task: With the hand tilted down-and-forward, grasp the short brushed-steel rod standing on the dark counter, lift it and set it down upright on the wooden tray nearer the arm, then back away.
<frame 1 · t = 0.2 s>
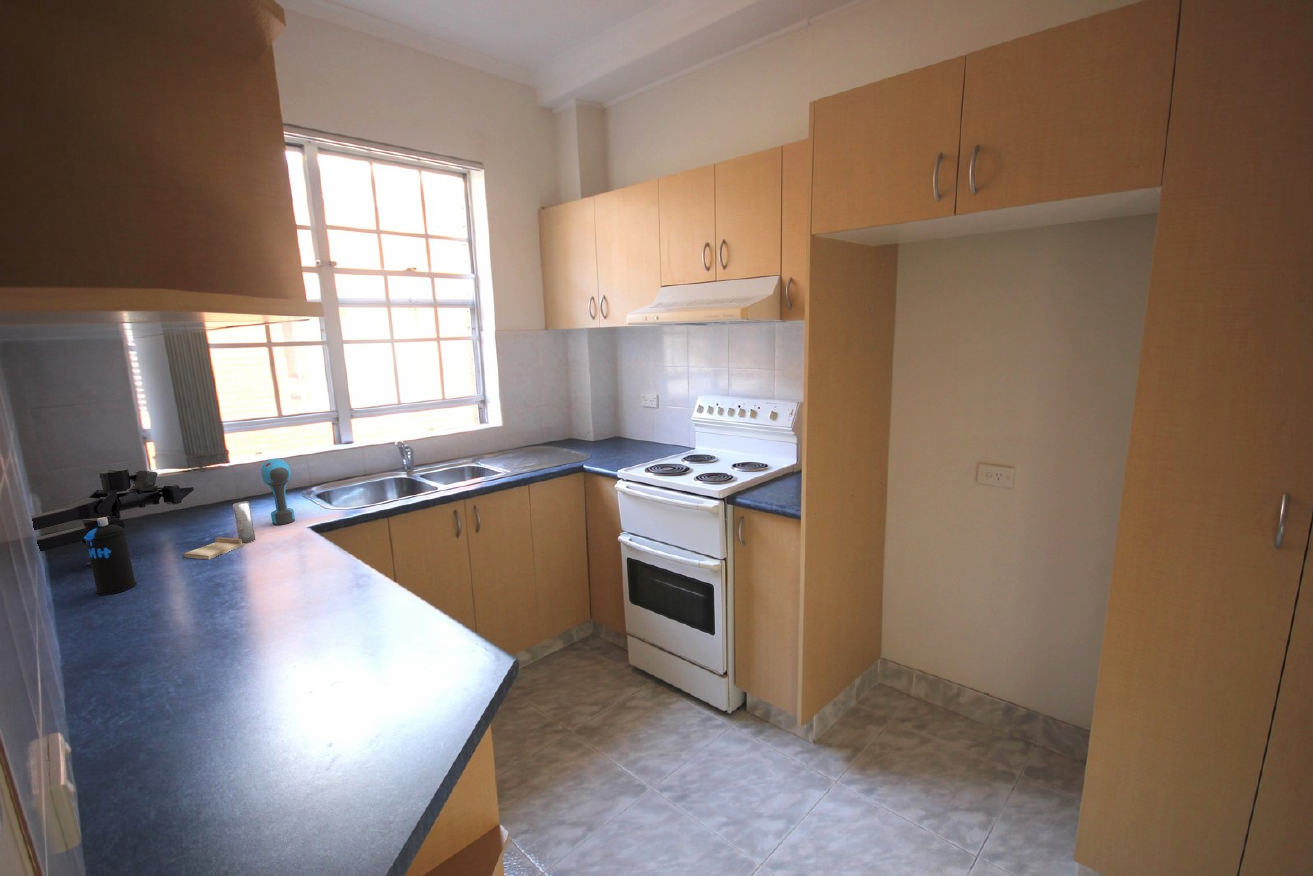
hand: (183, 488, 199), 16 cm above the counter, tool horizontal, fingers open, 9 cm apart
rod: (247, 541, 193), on the counter
wooden tray: (212, 552, 183), on the counter
aerosol can: (117, 589, 158), on the counter
power drill: (281, 520, 216), on the counter
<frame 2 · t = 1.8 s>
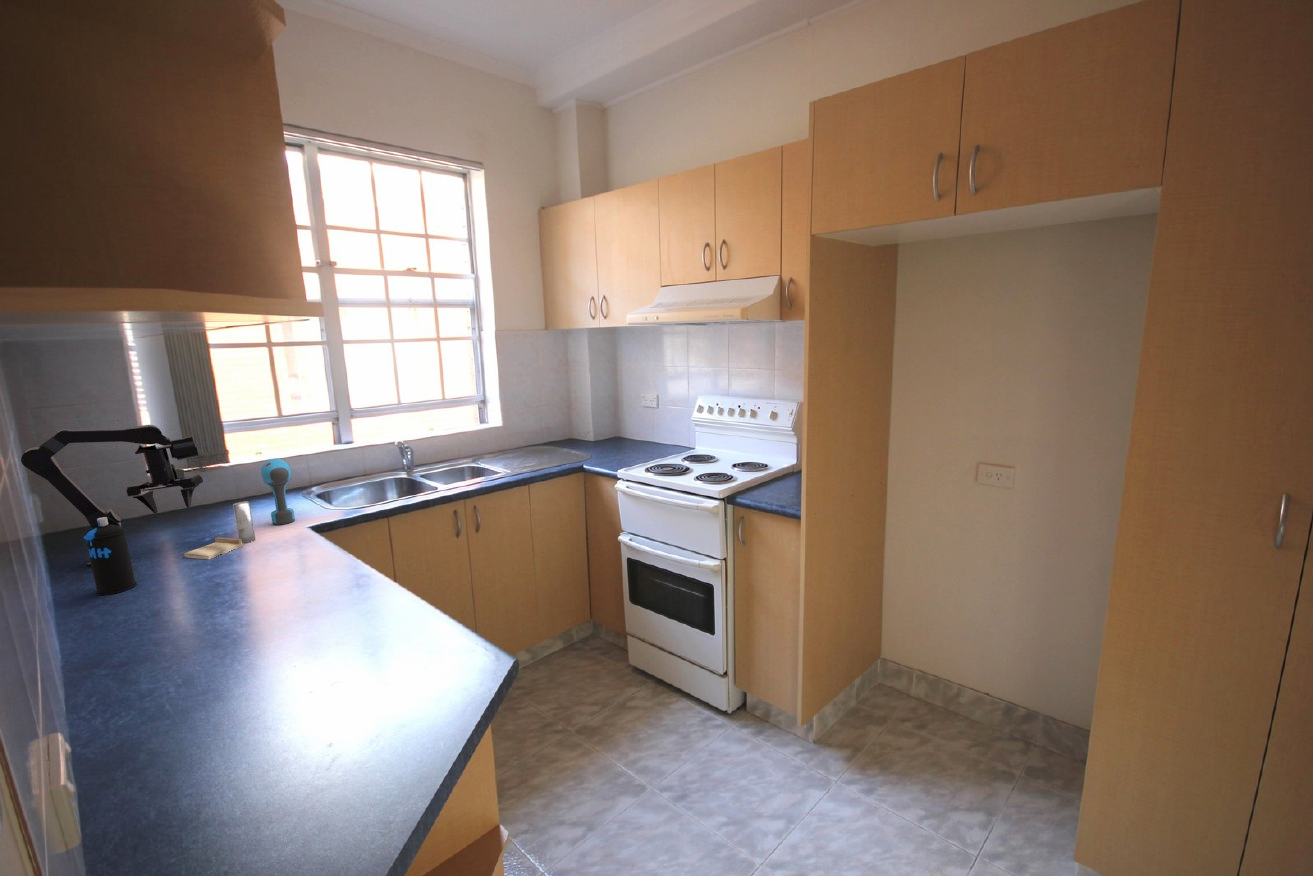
hand: (172, 510, 188), 12 cm above the counter, tool pointing down, fingers open, 9 cm apart
nothing on the counter moved.
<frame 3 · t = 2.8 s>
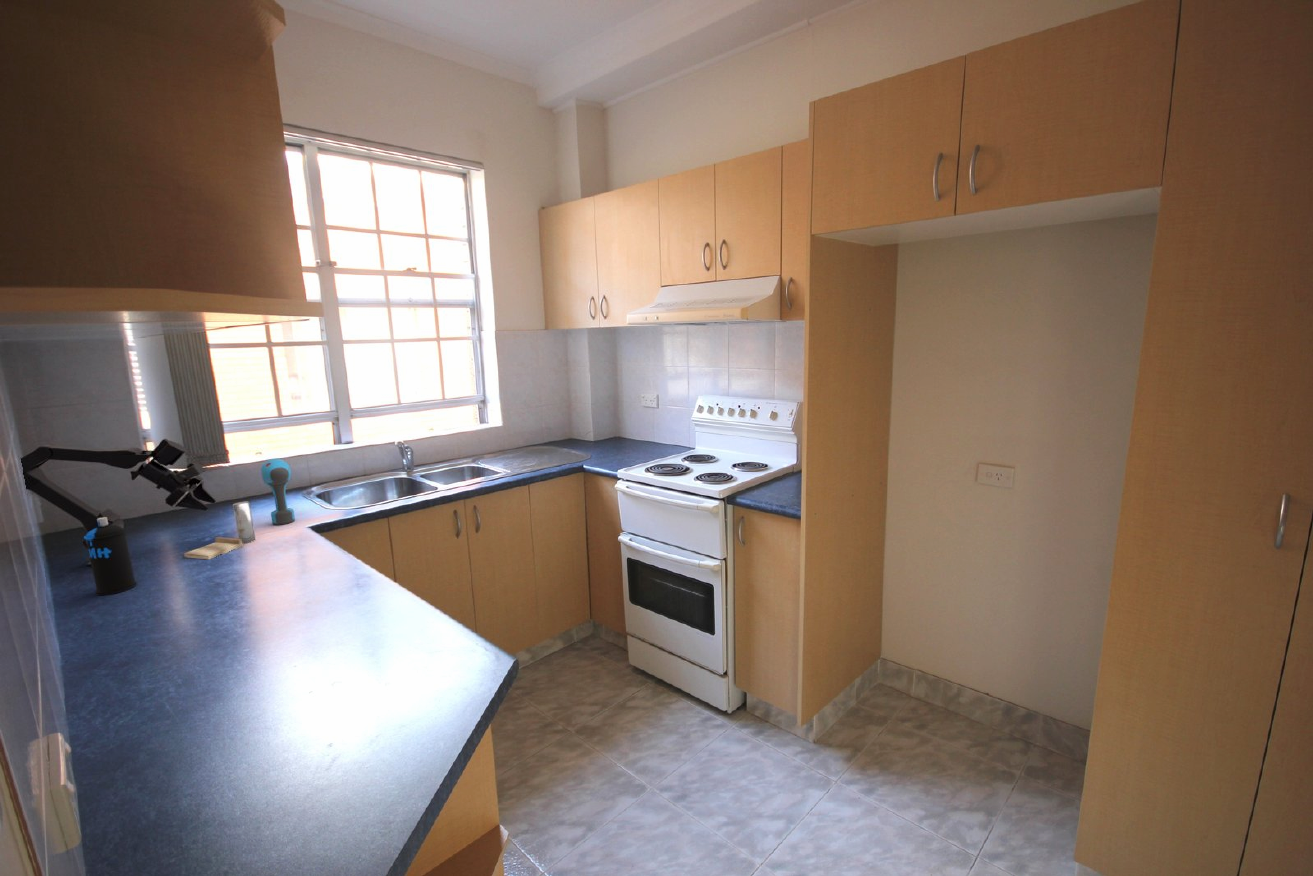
hand: (211, 505, 187), 13 cm above the counter, tool tilted 45°, fingers open, 9 cm apart
nothing on the counter moved.
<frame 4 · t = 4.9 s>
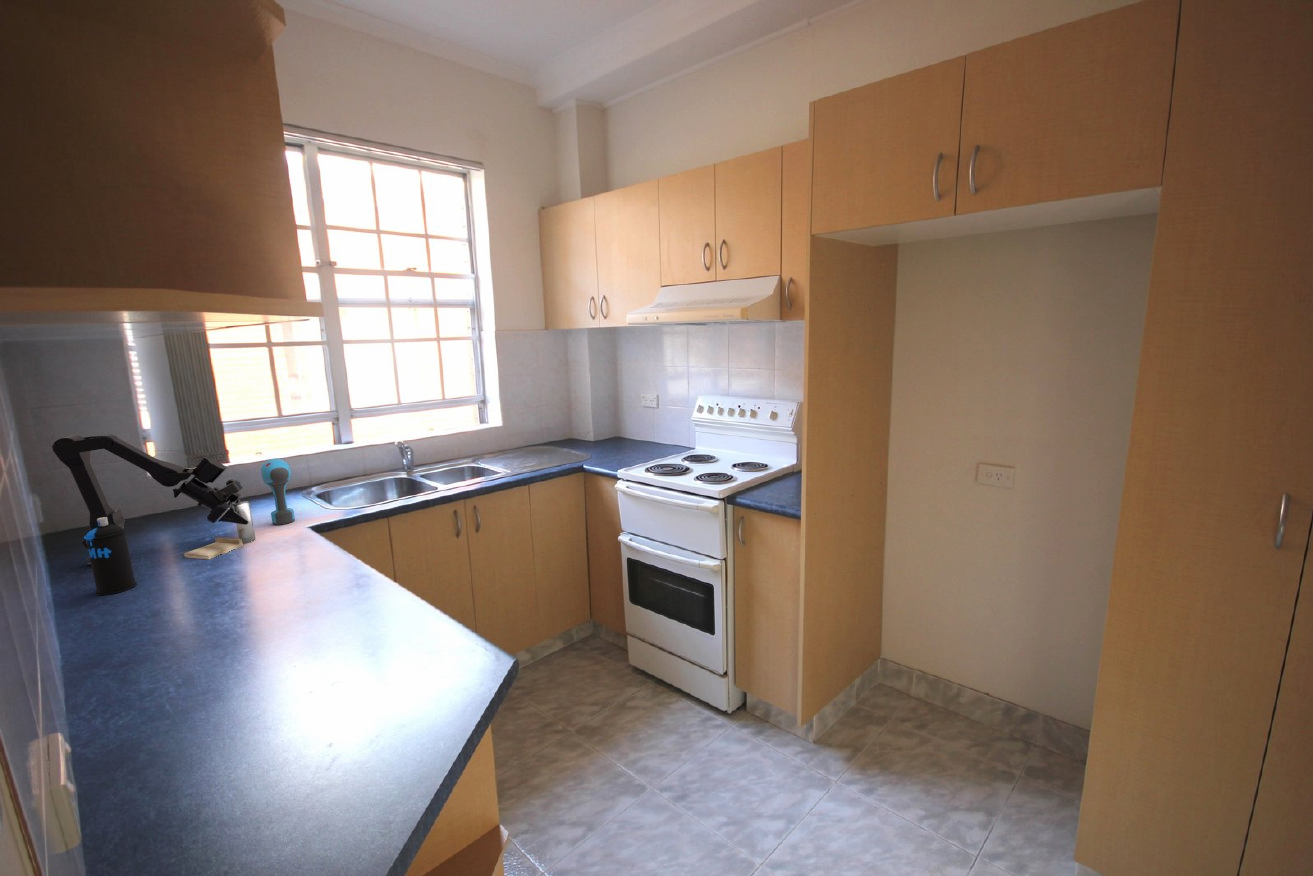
hand: (249, 521, 192), 7 cm above the counter, tool tilted 45°, fingers closed on rod, 4 cm apart
rod: (247, 541, 193), on the counter, touching gripper
everything else where it was.
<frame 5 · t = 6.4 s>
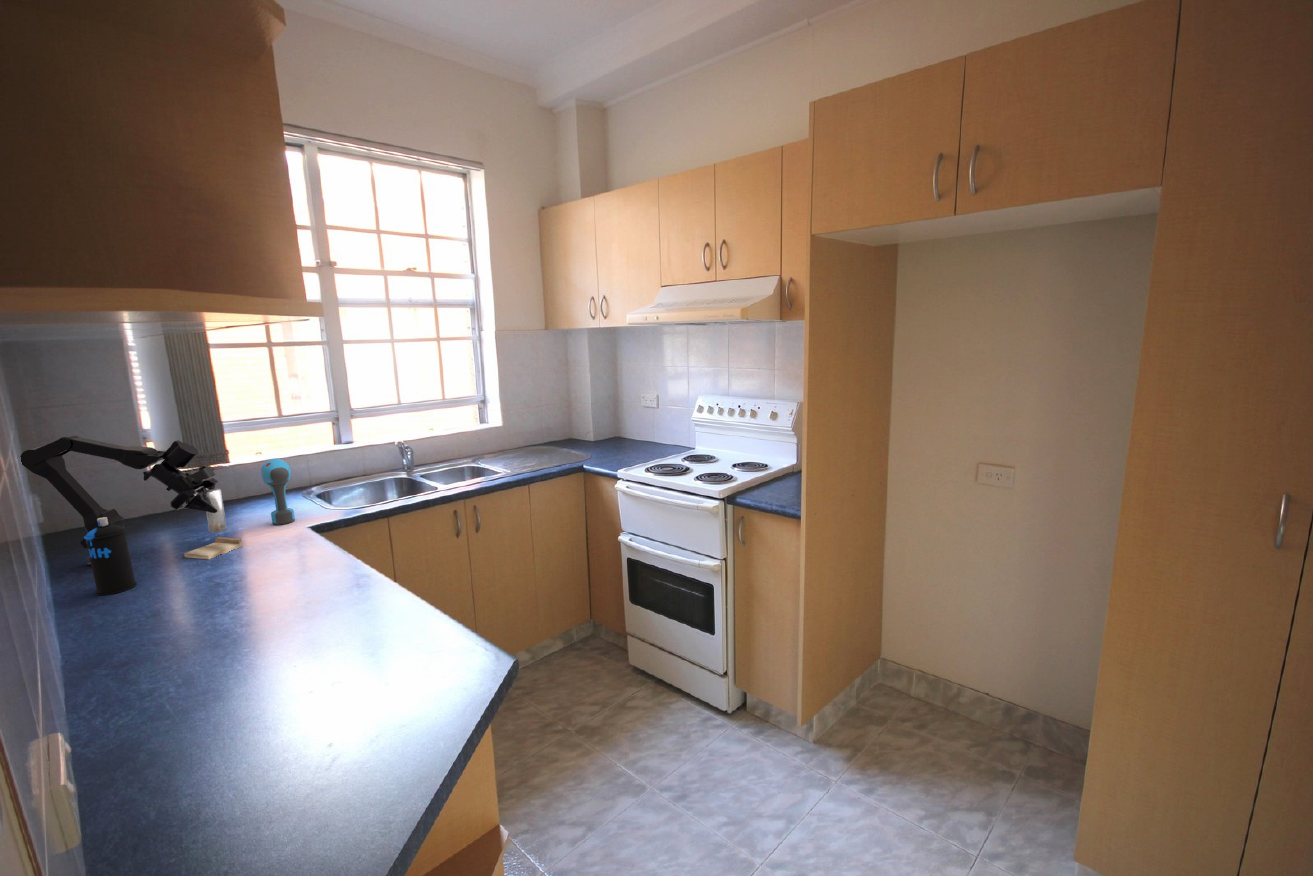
hand: (220, 509, 184), 13 cm above the counter, tool tilted 45°, fingers closed on rod, 4 cm apart
rod: (218, 530, 185), point 6 cm above the counter, touching gripper
everything else where it was.
when the fingers open (8 cm above the counter, at t = 8.1 s): rod stays where it is, resting on wooden tray.
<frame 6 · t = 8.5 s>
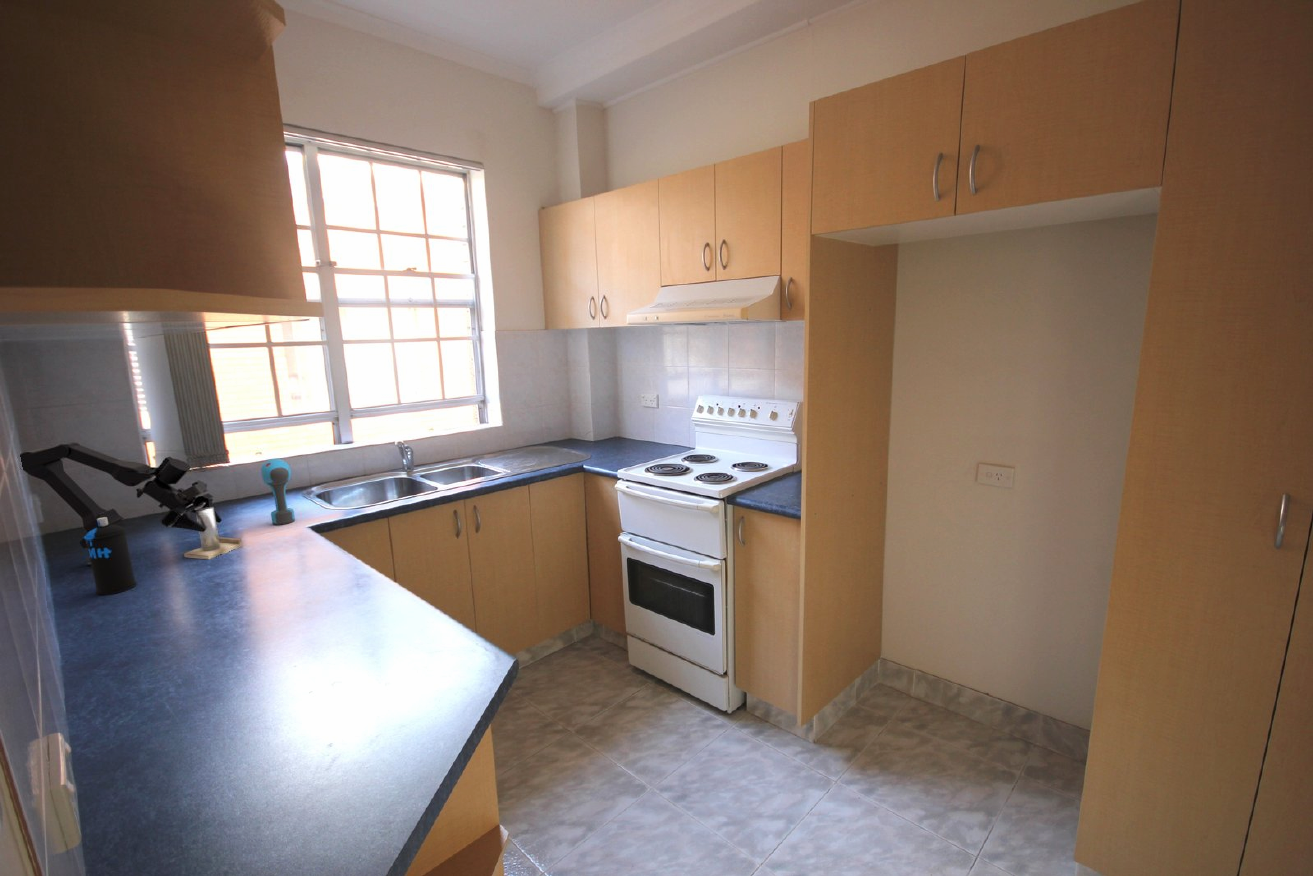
hand: (213, 526, 182), 9 cm above the counter, tool tilted 45°, fingers open, 9 cm apart
rod: (211, 548, 183), point 1 cm above the counter, touching wooden tray
everything else where it was.
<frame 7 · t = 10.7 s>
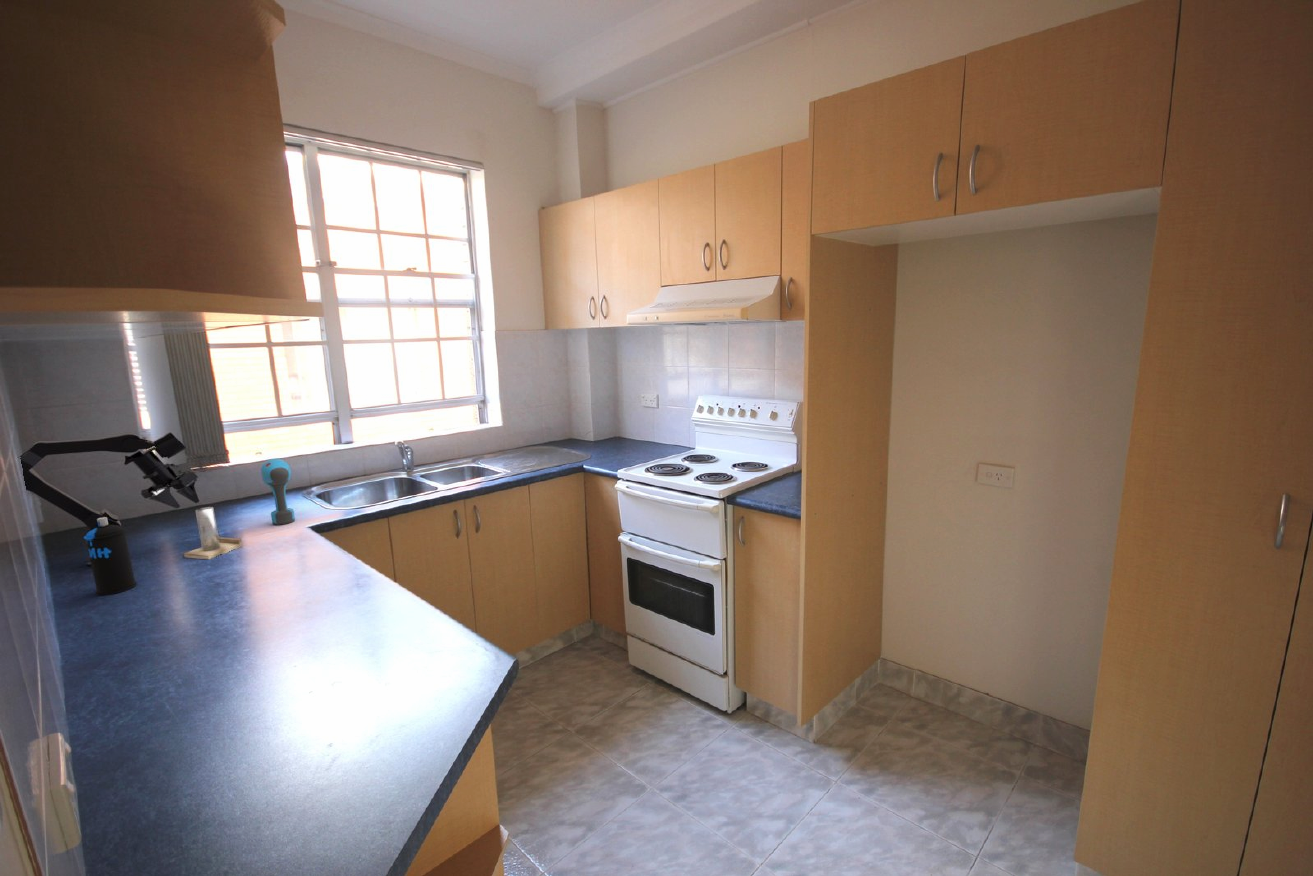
hand: (188, 505, 191), 13 cm above the counter, tool tilted 25°, fingers open, 9 cm apart
nothing on the counter moved.
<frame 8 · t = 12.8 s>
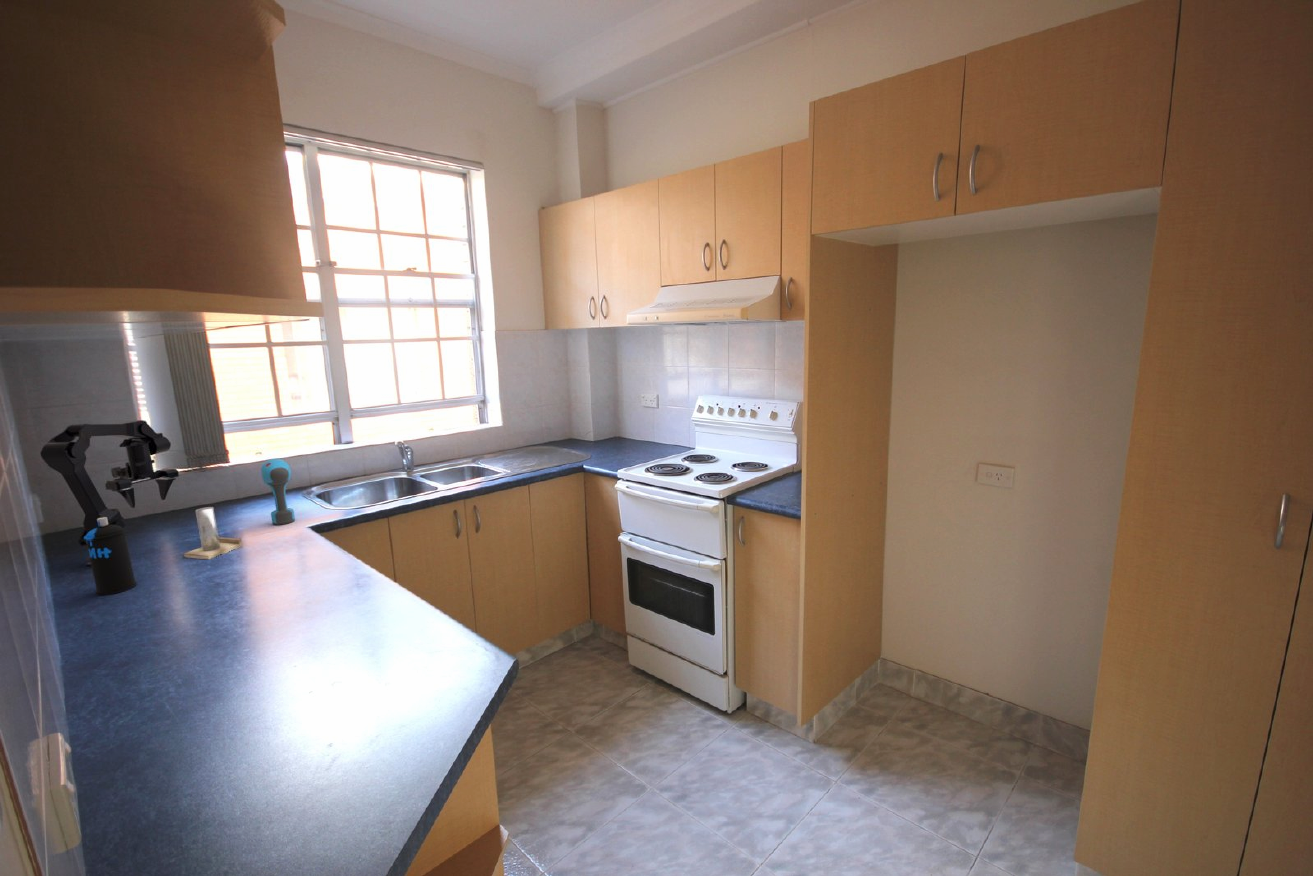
hand: (148, 503, 195), 13 cm above the counter, tool pointing down, fingers open, 9 cm apart
nothing on the counter moved.
at the end: rod inside the target area on the wooden tray (0.1 cm from its centre), point 1.2 cm above the wooden tray's base; rod tilted 0°; the gripper is holding nothing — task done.
